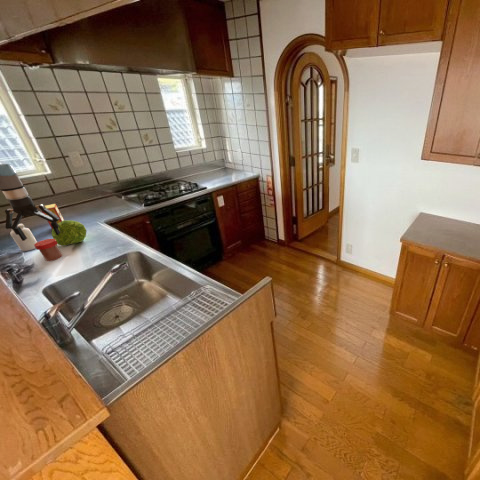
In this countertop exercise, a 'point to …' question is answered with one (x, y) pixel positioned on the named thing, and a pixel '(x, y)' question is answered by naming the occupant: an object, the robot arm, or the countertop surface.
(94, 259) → the countertop surface
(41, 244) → the cap
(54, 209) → the baking soda box
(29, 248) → the pill bottle
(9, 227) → the robot arm
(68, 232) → the lettuce
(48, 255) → the jar
